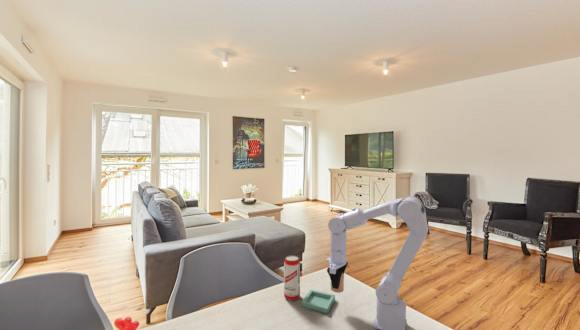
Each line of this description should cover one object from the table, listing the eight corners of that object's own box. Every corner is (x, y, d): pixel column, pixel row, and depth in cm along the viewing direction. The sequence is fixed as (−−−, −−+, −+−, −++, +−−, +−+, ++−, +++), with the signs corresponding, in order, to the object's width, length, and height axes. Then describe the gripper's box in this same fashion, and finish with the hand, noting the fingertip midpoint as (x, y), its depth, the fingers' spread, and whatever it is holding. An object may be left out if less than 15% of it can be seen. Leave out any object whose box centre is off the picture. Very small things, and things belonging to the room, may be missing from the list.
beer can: (298, 302, 106) (298, 261, 105) (282, 300, 107) (282, 260, 106) (301, 293, 112) (301, 255, 111) (285, 292, 113) (285, 254, 112)
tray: (334, 300, 108) (334, 295, 108) (327, 314, 99) (327, 309, 98) (310, 294, 112) (310, 289, 112) (301, 307, 103) (301, 302, 103)
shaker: (344, 287, 103) (345, 271, 102) (341, 293, 99) (342, 276, 98) (332, 284, 105) (333, 268, 104) (329, 290, 101) (329, 274, 100)
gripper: (332, 240, 109) (332, 274, 110) (321, 253, 96) (320, 291, 97) (350, 243, 106) (350, 277, 107) (341, 257, 93) (340, 296, 94)
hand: (337, 284), depth 102 cm, fingers closed on shaker, 5 cm apart
